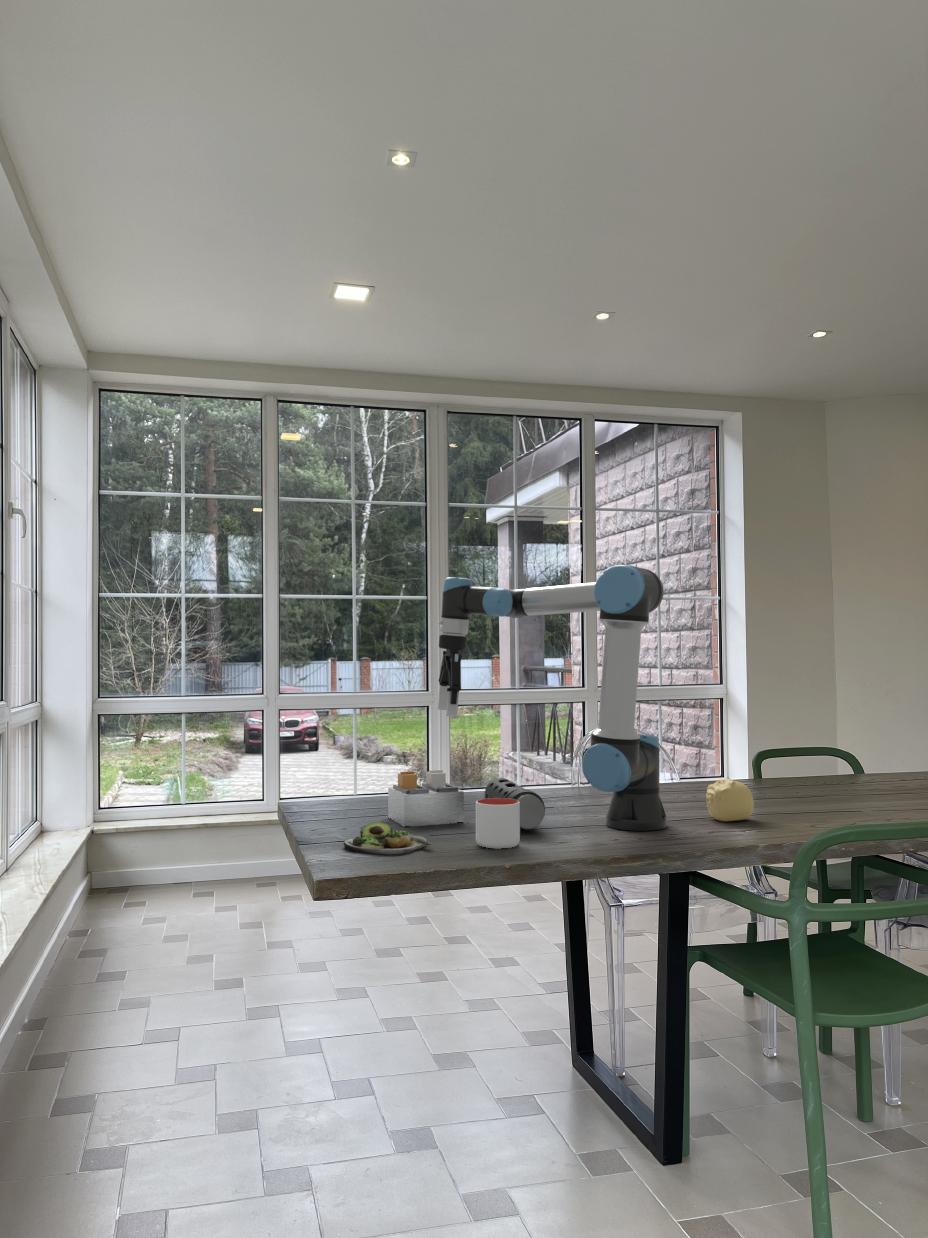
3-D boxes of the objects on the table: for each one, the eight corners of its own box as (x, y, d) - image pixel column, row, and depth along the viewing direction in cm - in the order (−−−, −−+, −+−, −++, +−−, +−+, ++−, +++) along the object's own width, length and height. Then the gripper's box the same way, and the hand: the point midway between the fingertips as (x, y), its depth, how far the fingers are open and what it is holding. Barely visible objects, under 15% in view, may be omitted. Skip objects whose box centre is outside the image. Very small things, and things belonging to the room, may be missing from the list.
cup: (476, 841, 215) (476, 798, 215) (519, 841, 214) (519, 798, 215) (475, 850, 205) (475, 805, 205) (520, 850, 204) (520, 805, 205)
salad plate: (449, 845, 212) (449, 825, 212) (407, 860, 196) (407, 839, 196) (378, 837, 221) (378, 817, 221) (333, 851, 205) (333, 830, 205)
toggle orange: (416, 788, 242) (416, 772, 242) (402, 788, 240) (402, 773, 240) (412, 786, 245) (412, 770, 245) (397, 786, 244) (397, 771, 244)
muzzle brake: (517, 814, 250) (517, 776, 250) (548, 835, 222) (547, 791, 223) (483, 816, 248) (483, 777, 248) (509, 836, 220) (509, 793, 221)
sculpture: (701, 816, 247) (701, 775, 247) (746, 816, 247) (746, 775, 247) (711, 824, 236) (711, 781, 236) (759, 824, 235) (758, 781, 235)
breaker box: (463, 822, 238) (463, 787, 238) (404, 827, 232) (404, 790, 232) (444, 813, 251) (444, 780, 251) (388, 817, 245) (388, 783, 245)
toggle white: (445, 786, 245) (445, 770, 245) (431, 787, 243) (431, 771, 243) (440, 784, 248) (440, 769, 248) (426, 785, 247) (426, 769, 247)
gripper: (432, 631, 260) (426, 706, 261) (447, 636, 236) (441, 718, 236) (458, 633, 262) (452, 707, 262) (476, 638, 237) (469, 720, 238)
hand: (447, 713), depth 249 cm, fingers open, 13 cm apart
